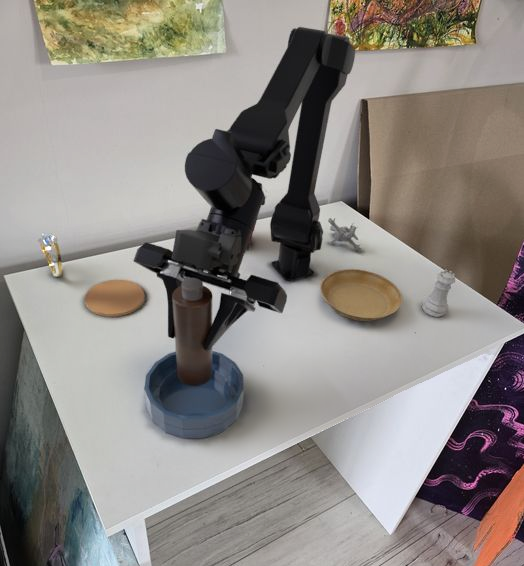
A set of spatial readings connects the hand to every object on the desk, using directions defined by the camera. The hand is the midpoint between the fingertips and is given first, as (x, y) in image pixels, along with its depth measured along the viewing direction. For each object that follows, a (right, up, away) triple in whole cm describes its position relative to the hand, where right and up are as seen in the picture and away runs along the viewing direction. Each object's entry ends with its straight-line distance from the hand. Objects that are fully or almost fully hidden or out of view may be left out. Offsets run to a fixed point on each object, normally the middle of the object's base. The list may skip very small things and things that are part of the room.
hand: (188, 343), depth 60 cm
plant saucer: (+27, +8, +30) cm, 41 cm away
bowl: (0, -8, +9) cm, 13 cm away
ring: (-29, +13, +30) cm, 43 cm away
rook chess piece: (+40, +6, +30) cm, 51 cm away
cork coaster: (-17, +8, +26) cm, 32 cm away
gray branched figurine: (+25, +22, +45) cm, 56 cm away
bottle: (0, -4, +5) cm, 7 cm away
